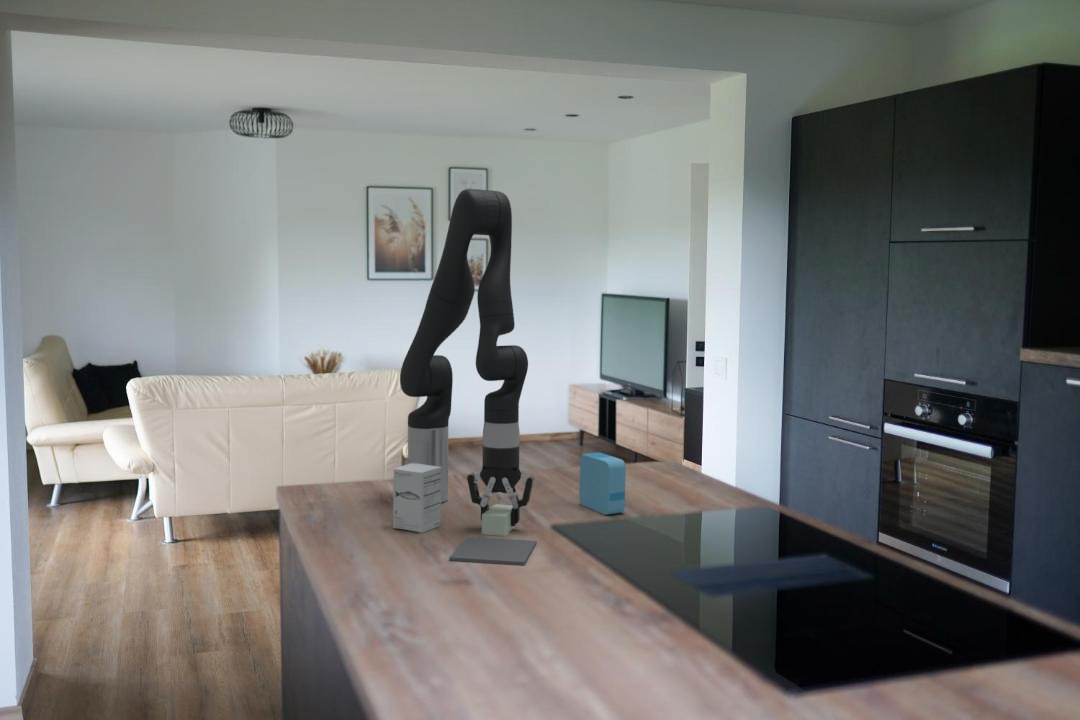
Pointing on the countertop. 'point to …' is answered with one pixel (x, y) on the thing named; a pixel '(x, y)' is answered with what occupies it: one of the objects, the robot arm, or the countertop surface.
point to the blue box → (602, 483)
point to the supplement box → (417, 497)
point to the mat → (493, 551)
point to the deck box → (497, 520)
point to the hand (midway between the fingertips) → (500, 524)
